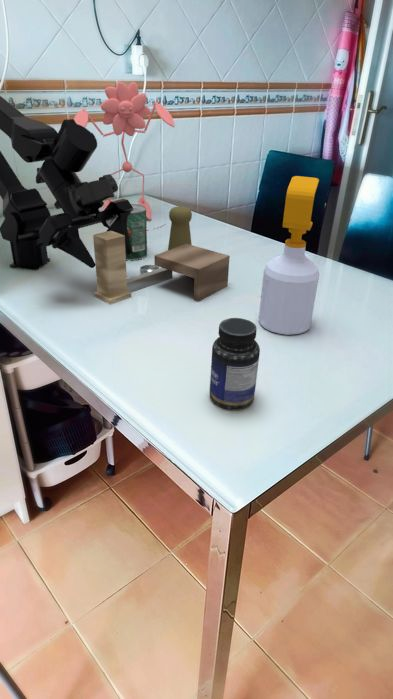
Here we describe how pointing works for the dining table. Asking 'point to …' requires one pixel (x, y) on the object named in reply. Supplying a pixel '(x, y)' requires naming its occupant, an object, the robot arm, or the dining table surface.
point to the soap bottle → (291, 267)
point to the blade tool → (119, 269)
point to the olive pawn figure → (179, 227)
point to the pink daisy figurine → (126, 120)
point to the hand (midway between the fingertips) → (112, 260)
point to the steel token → (147, 268)
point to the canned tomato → (137, 232)
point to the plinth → (197, 267)
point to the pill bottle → (234, 364)
